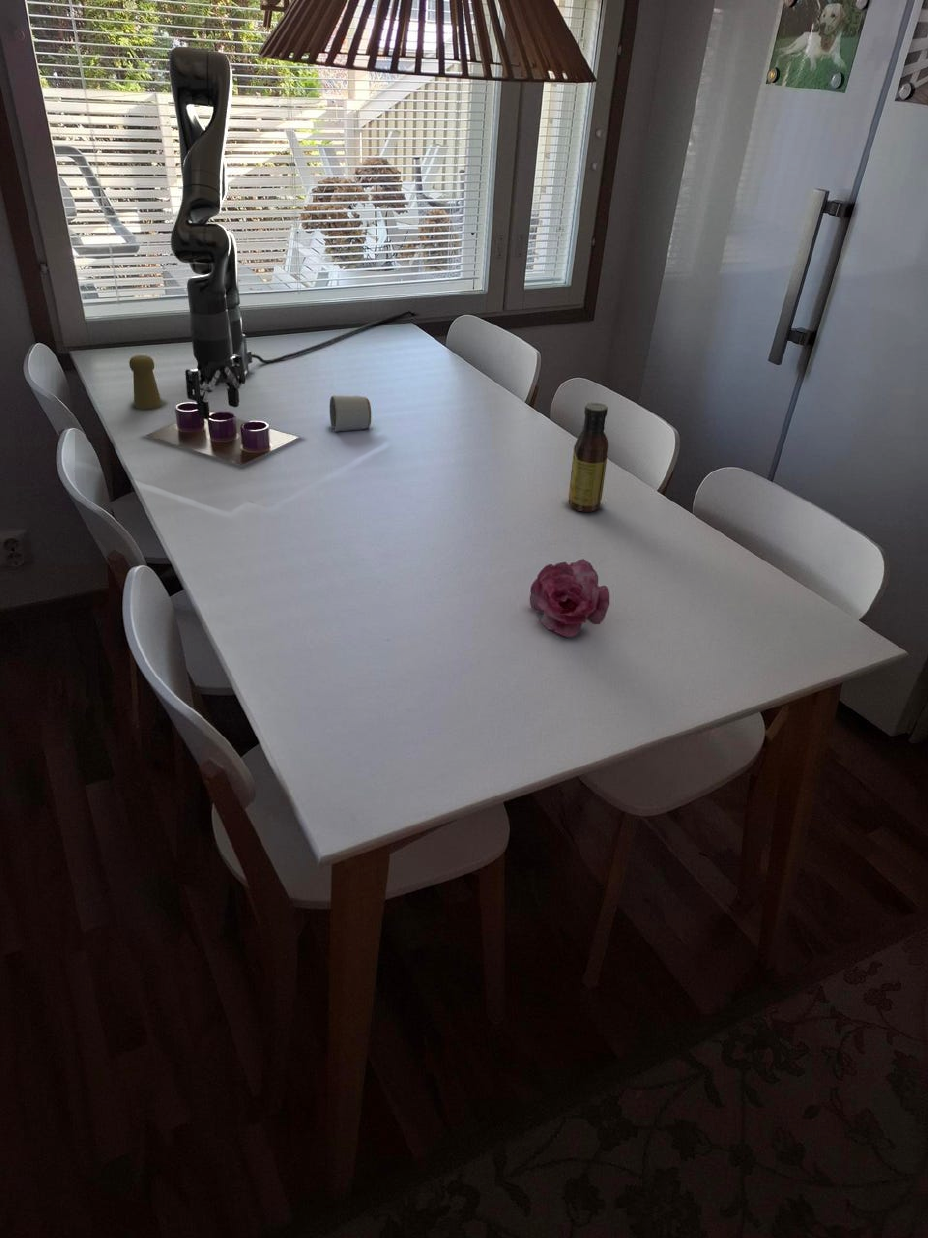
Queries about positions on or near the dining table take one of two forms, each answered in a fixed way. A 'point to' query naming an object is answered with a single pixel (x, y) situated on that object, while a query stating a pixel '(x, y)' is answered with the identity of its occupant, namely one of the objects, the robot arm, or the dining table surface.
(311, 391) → the dining table surface
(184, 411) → the plum dish
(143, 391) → the yellow pawn figure
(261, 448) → the plum dish
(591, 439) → the sauce bottle
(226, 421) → the plum dish
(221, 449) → the metal board
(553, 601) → the flower
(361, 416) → the ceramic mug
